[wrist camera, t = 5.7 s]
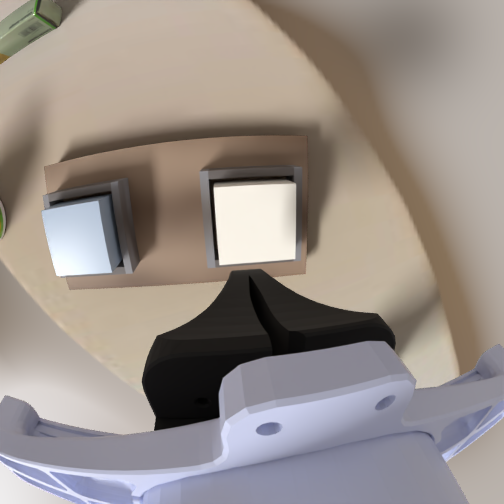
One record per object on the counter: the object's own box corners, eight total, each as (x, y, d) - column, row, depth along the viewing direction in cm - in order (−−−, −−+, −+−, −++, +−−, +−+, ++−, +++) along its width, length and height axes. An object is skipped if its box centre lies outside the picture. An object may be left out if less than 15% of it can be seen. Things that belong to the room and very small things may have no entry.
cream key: (285, 245, 18) (295, 259, 16) (219, 250, 18) (219, 265, 16) (285, 178, 17) (295, 183, 15) (214, 182, 16) (213, 187, 14)
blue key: (123, 257, 17) (112, 272, 15) (71, 261, 17) (56, 276, 15) (112, 193, 16) (98, 200, 14) (59, 202, 15) (41, 210, 13)
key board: (298, 263, 22) (313, 286, 19) (78, 278, 21) (59, 301, 17) (299, 136, 19) (317, 134, 15) (57, 164, 17) (29, 169, 13)
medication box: (63, 6, 12) (43, -10, 8) (61, 26, 12) (39, 11, 9) (-21, 64, 11) (-44, 60, 7) (-23, 85, 12) (-47, 82, 8)
